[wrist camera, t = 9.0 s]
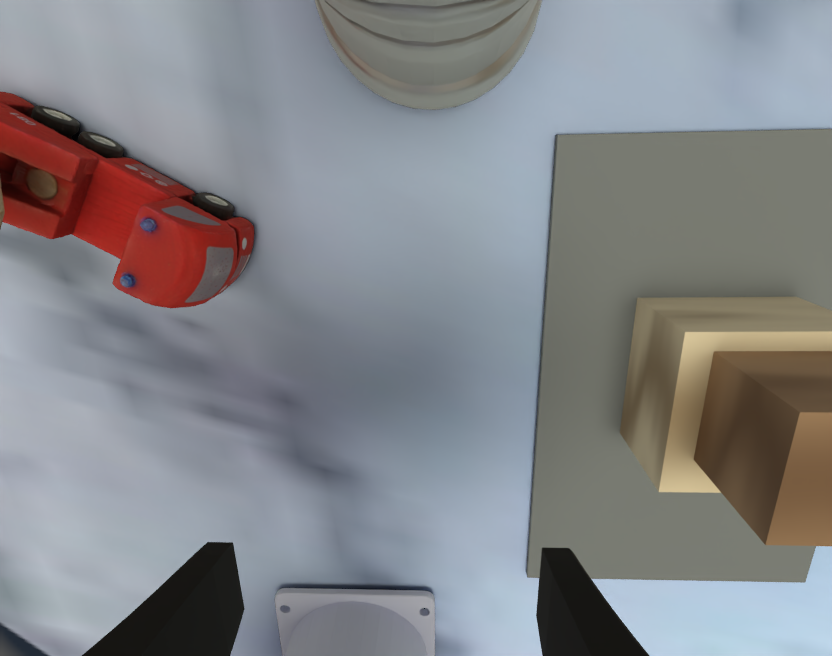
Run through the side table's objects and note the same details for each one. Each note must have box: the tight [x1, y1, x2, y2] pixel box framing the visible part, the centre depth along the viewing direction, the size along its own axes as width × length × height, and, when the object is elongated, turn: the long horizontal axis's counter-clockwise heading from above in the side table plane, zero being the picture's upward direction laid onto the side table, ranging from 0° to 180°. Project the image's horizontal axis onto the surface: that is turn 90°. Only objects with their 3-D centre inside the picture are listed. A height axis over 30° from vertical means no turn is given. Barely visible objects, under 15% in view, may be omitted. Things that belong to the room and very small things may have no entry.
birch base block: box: [620, 297, 832, 493], centre depth 18 cm, size 6×6×4 cm
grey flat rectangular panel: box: [526, 129, 832, 582], centre depth 21 cm, size 20×13×1 cm, turn 1°
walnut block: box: [694, 351, 832, 546], centre depth 15 cm, size 4×4×4 cm
